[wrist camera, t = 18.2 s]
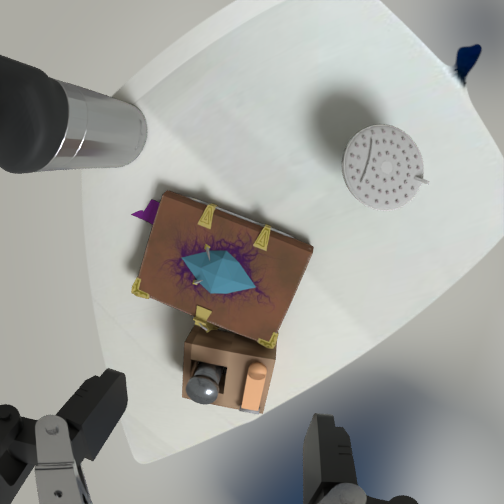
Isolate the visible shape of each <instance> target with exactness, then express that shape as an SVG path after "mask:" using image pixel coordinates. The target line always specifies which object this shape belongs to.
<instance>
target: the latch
mask: <svg viewBox="0 0 504 504" xmlns="http://www.w3.org/2000/svg"><path fill="white" fill-rule="evenodd" d="M266 373H267V368H266V366H265V365H264V364H262V363H260V362H255V363H252V364H251V365H250V366H249V369H248V374H247V380H246V385H245V390H244V396H243V401H242V405H241V404H240V409H239V411H243V412H249V413H254V414H259V411H260V408H259V405H260V401H261V396H262V392H263V387H264V383H265V378H266Z"/></svg>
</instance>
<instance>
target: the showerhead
mask: <svg viewBox="0 0 504 504" xmlns="http://www.w3.org/2000/svg"><path fill="white" fill-rule="evenodd" d="M342 173H343V178H344V181H345V183H346V185H347V187H348V189H349V191H350V192H351V193H352V195H353V196H354V197H355V198H356V199H358V200H359V201H360V202H361V203H363V204H365V205H366V206H368V207H370V208H373V209H376V210H381V211H391V210H395V209H399V208H401V207H403V206H405V205H406V204H408V203H409V202H410V201H411V200H412V199H413V198H414V197H415V196H416V194H417V193H418V191H419V189H420V187H421V184H422V183H425V184H428V185H429V181H427V180H424V179H423V174H424V166H423V160H422V156H421V153H420V151H419V149H418V147H417V145H416V144H415V142H414V141H413V140H412V138H411V137H410V136H409V135H407V134H406V133H405V132H404V131H402V130H400V129H399V128H396V127H394V126H390V125H385V124H377V125H372V126H368V127H366V128H364V129H362V130H361V131H359V132H358V133H356V134H355V135H354V136H353V137H352V138H351V139H350V141H349V142H348V144H347V146H346V148H345V150H344V153H343V157H342Z"/></svg>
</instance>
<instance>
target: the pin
mask: <svg viewBox="0 0 504 504" xmlns="http://www.w3.org/2000/svg"><path fill="white" fill-rule="evenodd" d="M223 369H224V366H220V365H215V364H210V363H206V362H201V361H200V363H199V365H198V368H197V370H196V372H195V374H194V376H192V377H191V378H190V379H189V381H188V383H187V385H186V393H187V395H188V396H189V398H190V399H192V400H193V401H195V402H197V403H200V404H210V403H213V402H214V401H215V400H216V399H217V396H218V393H219V386H218V384H219V381H220V378H221V375H222V372H223Z"/></svg>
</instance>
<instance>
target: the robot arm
mask: <svg viewBox="0 0 504 504" xmlns="http://www.w3.org/2000/svg"><path fill="white" fill-rule="evenodd" d="M146 138H147V124H146V120H145V118H144V115H143V114H142V112H141V111H140V110H139V109H138V108H137V107H135V106H133V105H131V104H129V103H126V102H123V101H120V100H118V99H115V98H112V97H109V96H107V95H103V94H100V93H97V92H95V91H92V90H88V89H85V88H82V87H79V86H76V85H73V84H70V83H66V82H62V81H59V80H56V79H53V78H50V77H48V76H47V75H46V74H45V73H44V72H43V71H41V70H40V69H38V68H36V67H33V66H30V65H27V64H24V63H21V62H19V61H16V60H13V59H10V58H8V57H5V56H2V55H0V167H1V168H2V169H4V170H5V171H8V172H10V173H18V174H22V173H31V172H41V171H53V170H67V169H87V168H117V167H123V166H125V165H127V164H129V163H131V162H132V161H134V160H135V159H136V158H137V157H138V155H139V154H140V152H141V151H142V149H143V147H144V145H145V142H146ZM127 402H128V397H127V387H126V377H125V374H124V373H122V372H119V371H116V370H113V369H110V368H108V369H106V370H105V371H104V373H103V374H102V375H101V376H100V377H98V376H96V375H95V376H93V377H91V378H89V379H87V380H86V381H85V382H84V383H83V384H82V385H81V386H80V388H79V389H78V390H77V391H76V392H75V394H74V395H73V396H72V397H71V398H70V399H69V400H68V401H67V402H66V403H65V405H64V406H63V407H62V408H61V409H60V410H59V412H58V413H57V414H56V415H46V416H43V417H41V418H40V419H39V420H33V419H29V418H25V417H21V416H20V414H19V412H18V410H17V409H16V408H15V407H13V406H11V405H7V404H5V405H0V504H11V502H12V501H13V499H14V497H15V496H16V494H17V493H18V491H19V489H20V488H21V486H22V485H23V483H24V482H25V480H26V478H27V477H28V475H29V474H30V472H31V471H32V469H33V468H34V466H35V465H36V466H35V477H36V484H37V491H38V497H39V503H40V504H93V503H92V501H91V498H90V494H89V491H88V487H87V484H86V480H85V476H84V473H83V468H82V464H81V462H82V461H83V459H84V458H87V459H89V460H91V461H94V459H95V458H96V456H97V454H98V453H99V451H100V450H101V448H102V446H103V445H104V443H105V442H106V440H107V439H108V437H109V435H110V434H111V432H112V430H113V429H114V427H115V426H116V424H117V423H118V421H119V420H120V418H121V416H122V415H123V413H124V412H125V410H126V407H127ZM303 504H418V503H417V501H416V500H415V499H413V498H411V497H409V496H404V495H403V496H396V497H394V498H392V499H391V500H390V501H385V500H380V499H376V498H372V497H369V496H367V495H366V494H365V492H364V491H363V489H362V488H360V487H359V486H358V484H357V478H356V472H355V466H354V460H353V456H352V448H351V442H350V437H349V435H348V434H347V432H346V431H345V429H344V428H343V427H335V423H334V417H333V415H330V414H318V413H315V414H314V415H313V418H312V421H311V423H310V426H309V428H308V431H307V433H306V436H305V439H304V445H303Z"/></svg>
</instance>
